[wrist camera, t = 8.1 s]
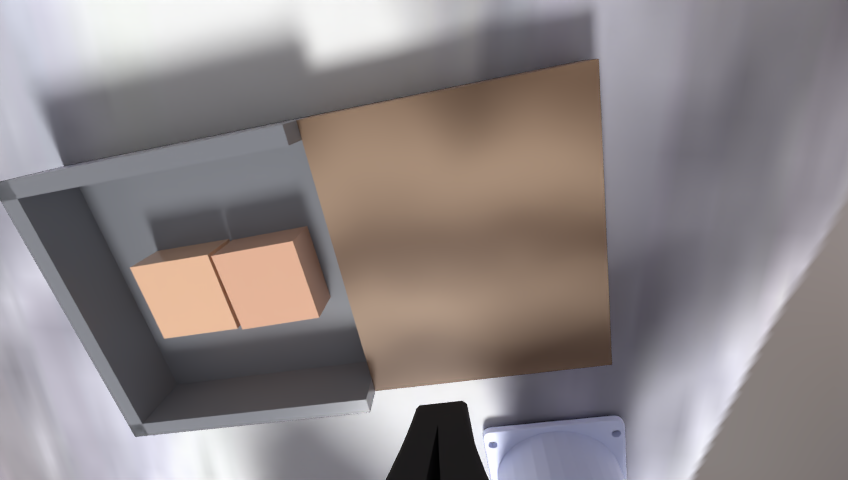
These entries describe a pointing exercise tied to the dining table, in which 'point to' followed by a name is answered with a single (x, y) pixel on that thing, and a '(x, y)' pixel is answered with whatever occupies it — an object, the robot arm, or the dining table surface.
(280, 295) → the tile
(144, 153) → the tray
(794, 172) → the dining table surface
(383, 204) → the board
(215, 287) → the tile
